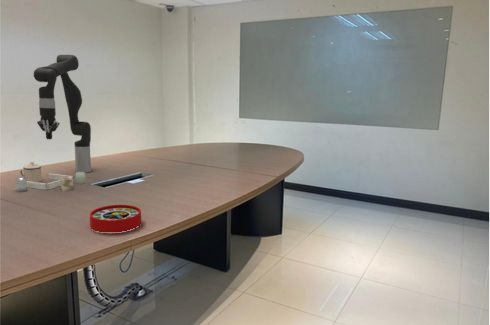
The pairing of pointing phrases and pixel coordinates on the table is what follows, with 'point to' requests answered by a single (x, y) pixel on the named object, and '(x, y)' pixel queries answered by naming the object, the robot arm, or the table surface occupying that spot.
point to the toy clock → (115, 218)
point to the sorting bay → (49, 185)
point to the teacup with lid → (32, 172)
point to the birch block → (66, 184)
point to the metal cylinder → (21, 184)
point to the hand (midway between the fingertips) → (49, 139)
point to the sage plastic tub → (80, 177)
